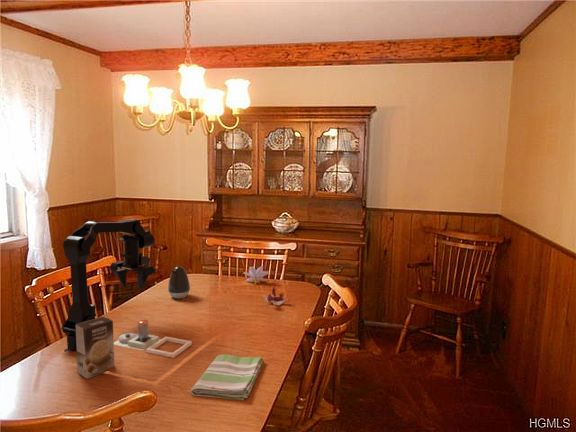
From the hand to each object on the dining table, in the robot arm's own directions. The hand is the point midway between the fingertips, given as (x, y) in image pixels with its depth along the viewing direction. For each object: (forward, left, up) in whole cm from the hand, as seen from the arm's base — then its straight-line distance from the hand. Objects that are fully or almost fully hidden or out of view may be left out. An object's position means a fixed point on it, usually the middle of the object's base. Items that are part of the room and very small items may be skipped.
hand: (132, 288), depth 172 cm
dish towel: (-24, -57, -15) cm, 63 cm away
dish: (-16, -29, -14) cm, 35 cm away
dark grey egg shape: (+33, +1, -14) cm, 36 cm away
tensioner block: (-16, -15, -14) cm, 26 cm away
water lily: (+68, -23, -15) cm, 74 cm away
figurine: (+42, -45, -14) cm, 63 cm away
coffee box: (-36, -16, -14) cm, 41 cm away
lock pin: (-16, -18, -13) cm, 27 cm away
